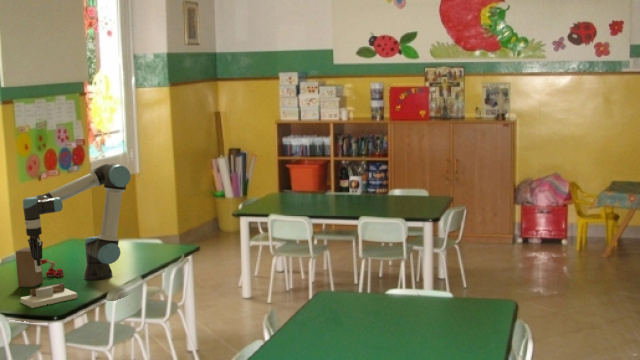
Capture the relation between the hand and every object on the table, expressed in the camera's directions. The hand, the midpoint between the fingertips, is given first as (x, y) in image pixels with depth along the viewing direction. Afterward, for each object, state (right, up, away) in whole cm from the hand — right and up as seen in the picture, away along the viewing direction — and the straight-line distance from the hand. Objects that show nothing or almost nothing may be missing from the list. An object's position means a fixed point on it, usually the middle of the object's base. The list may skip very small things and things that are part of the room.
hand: (38, 271), depth 448 cm
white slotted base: (+9, -13, -11) cm, 19 cm away
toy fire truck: (-5, -7, +39) cm, 40 cm away
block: (-11, -10, +21) cm, 25 cm away
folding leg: (+7, -10, -7) cm, 14 cm away
